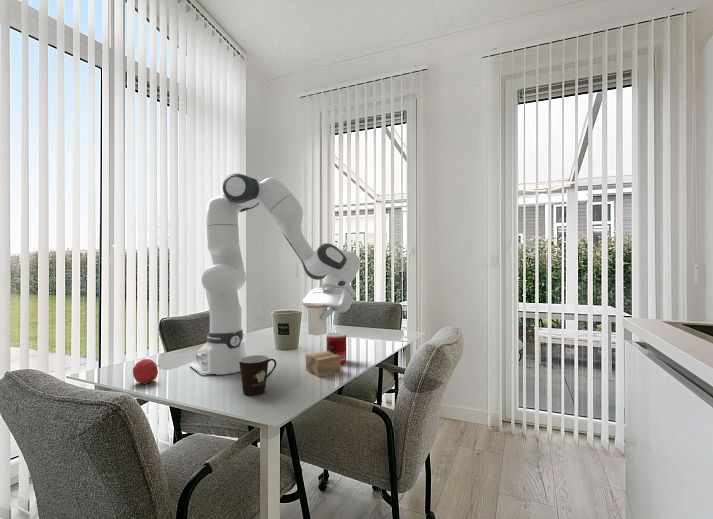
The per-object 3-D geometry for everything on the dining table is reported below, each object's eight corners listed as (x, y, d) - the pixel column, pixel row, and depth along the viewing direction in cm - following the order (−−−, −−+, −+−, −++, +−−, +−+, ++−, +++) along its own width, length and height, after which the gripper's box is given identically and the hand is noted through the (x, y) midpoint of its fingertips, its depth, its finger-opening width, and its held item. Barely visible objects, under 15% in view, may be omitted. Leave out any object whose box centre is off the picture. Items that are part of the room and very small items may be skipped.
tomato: (132, 359, 114) (156, 350, 120) (126, 371, 118) (150, 361, 124) (143, 381, 112) (167, 370, 118) (137, 391, 116) (160, 380, 122)
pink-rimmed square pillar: (308, 334, 123) (307, 305, 124) (317, 332, 127) (317, 303, 127) (317, 335, 120) (317, 306, 121) (327, 333, 124) (326, 304, 124)
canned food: (347, 359, 143) (347, 332, 143) (345, 365, 135) (344, 336, 135) (328, 359, 144) (328, 332, 144) (325, 365, 136) (324, 336, 136)
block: (305, 371, 129) (305, 354, 129) (327, 367, 134) (327, 351, 134) (318, 377, 121) (317, 360, 122) (340, 373, 127) (340, 356, 127)
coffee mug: (240, 399, 102) (240, 364, 102) (237, 389, 110) (237, 357, 110) (281, 393, 107) (281, 359, 107) (275, 384, 115) (275, 353, 115)
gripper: (310, 282, 136) (291, 310, 128) (351, 282, 123) (333, 314, 115) (318, 292, 139) (300, 321, 132) (359, 294, 127) (342, 326, 119)
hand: (316, 318), depth 123 cm, fingers closed on pink-rimmed square pillar, 4 cm apart
